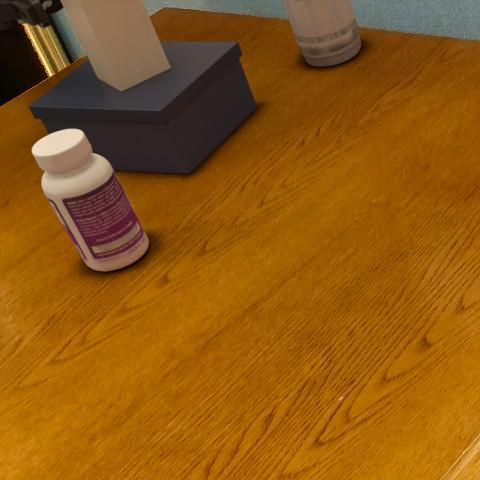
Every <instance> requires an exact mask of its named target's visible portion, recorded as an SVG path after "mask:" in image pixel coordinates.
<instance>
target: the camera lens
mask: <svg viewBox="0 0 480 480" xmlns="http://www.w3.org/2000/svg"><path fill="white" fill-rule="evenodd" d="M282 2H283V5H284V9H285V12H286V14H287V17H288V21H289V25H290V26H291V30H292V32H293V35H294V39H295V42H296V44H297V47H298V48H299V51H300V53H301V55H302V56H303V58H304V60H305V62H306V63H307V64H308V65H310V66H312V67H317V68H318V67H319V68H320V67H322V68H323V67H332V66H335V65H338V64H341V63H345V62H346V61H349V60H352V58H353V57H356V55H357V54H359V52H360V50H361V48H362V41H361V35H360V32H359V25H358V22H357V19H356V16H355V12H354V11H355V10H354V7H353V5H352V4H353V3H352V1H351V0H282Z"/></svg>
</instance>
